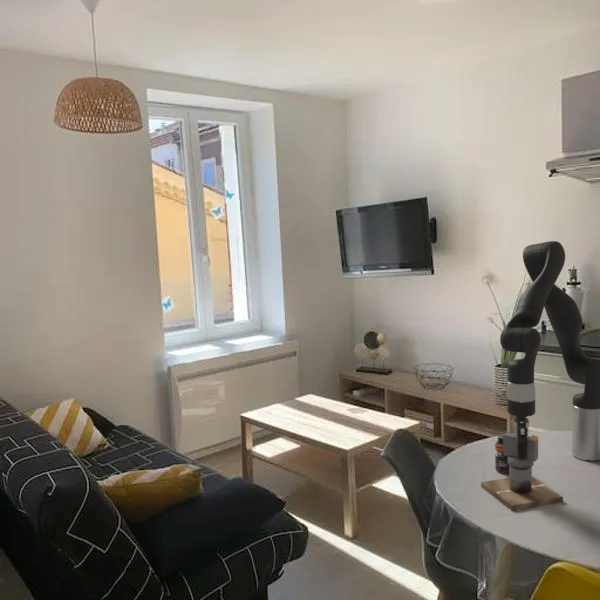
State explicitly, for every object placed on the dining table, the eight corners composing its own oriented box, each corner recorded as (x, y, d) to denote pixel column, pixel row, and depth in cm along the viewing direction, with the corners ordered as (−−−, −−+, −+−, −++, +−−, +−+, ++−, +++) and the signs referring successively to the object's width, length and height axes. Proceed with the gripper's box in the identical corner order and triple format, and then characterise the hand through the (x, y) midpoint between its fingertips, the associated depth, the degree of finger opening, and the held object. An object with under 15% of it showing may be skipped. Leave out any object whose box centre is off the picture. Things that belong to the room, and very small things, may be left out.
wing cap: (500, 464, 173) (500, 435, 172) (509, 456, 178) (509, 428, 177) (532, 471, 167) (532, 441, 166) (540, 462, 172) (540, 434, 171)
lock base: (528, 479, 183) (528, 450, 182) (562, 501, 168) (563, 471, 167) (481, 486, 180) (480, 458, 178) (511, 510, 164) (511, 479, 163)
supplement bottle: (515, 467, 192) (514, 433, 191) (515, 475, 186) (515, 440, 185) (495, 466, 194) (495, 432, 193) (495, 473, 188) (494, 438, 187)
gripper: (506, 389, 178) (507, 445, 180) (507, 403, 164) (508, 464, 166) (533, 390, 175) (533, 446, 177) (537, 404, 162) (537, 465, 164)
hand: (521, 454), depth 172 cm, fingers closed on wing cap, 4 cm apart
